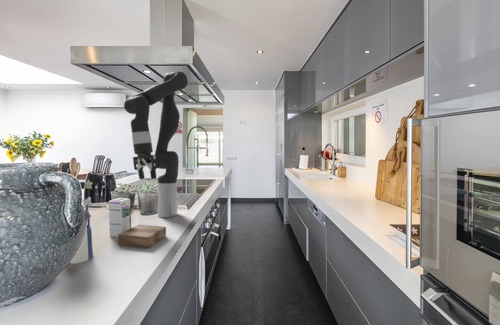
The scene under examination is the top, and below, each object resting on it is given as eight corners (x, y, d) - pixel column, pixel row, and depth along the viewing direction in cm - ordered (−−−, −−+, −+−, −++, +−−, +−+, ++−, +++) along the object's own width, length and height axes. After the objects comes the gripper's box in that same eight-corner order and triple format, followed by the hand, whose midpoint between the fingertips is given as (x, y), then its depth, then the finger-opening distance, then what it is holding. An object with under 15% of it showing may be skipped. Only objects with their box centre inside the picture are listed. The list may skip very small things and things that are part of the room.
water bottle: (71, 253, 86) (69, 178, 84) (98, 252, 87) (97, 178, 85) (55, 264, 78) (53, 182, 76) (86, 263, 79) (84, 182, 77)
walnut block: (139, 234, 105) (138, 224, 104) (165, 236, 102) (165, 226, 102) (118, 245, 93) (118, 234, 93) (148, 248, 91) (148, 237, 90)
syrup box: (122, 237, 101) (121, 201, 100) (109, 236, 102) (108, 200, 101) (131, 232, 106) (131, 198, 105) (119, 231, 107) (118, 197, 106)
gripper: (159, 140, 112) (165, 177, 113) (140, 143, 120) (145, 177, 121) (144, 141, 106) (150, 180, 107) (125, 144, 114) (130, 180, 115)
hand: (147, 178), depth 114 cm, fingers open, 8 cm apart
